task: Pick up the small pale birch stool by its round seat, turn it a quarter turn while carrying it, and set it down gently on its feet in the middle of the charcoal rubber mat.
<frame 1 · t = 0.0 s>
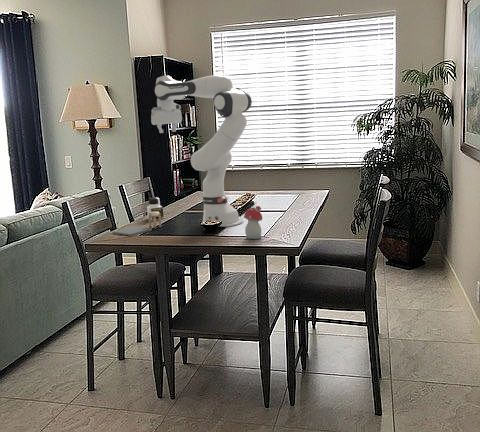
hand: (167, 132, 304), 48 cm above the table, tool pointing down, fingers open, 8 cm apart
medicine bottle: (155, 219, 314), on the table
mat: (132, 231, 282), on the table
mini stool: (155, 227, 290), on the table
decorative ornament: (254, 238, 253), on the table
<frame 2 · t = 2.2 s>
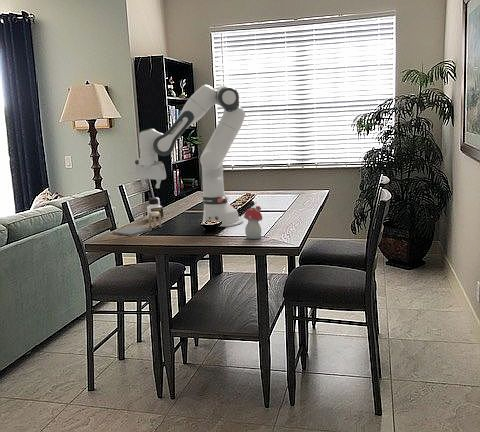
hand: (151, 187, 286), 21 cm above the table, tool pointing down, fingers open, 8 cm apart
nothing on the table moved.
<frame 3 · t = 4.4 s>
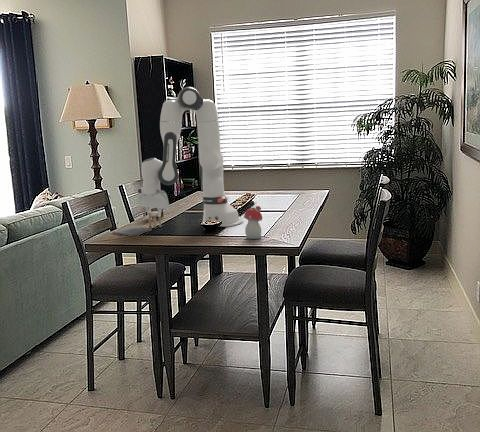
hand: (154, 215, 289), 6 cm above the table, tool pointing down, fingers closed on mini stool, 5 cm apart
mini stool: (155, 227, 290), on the table, touching gripper
everything else where it was.
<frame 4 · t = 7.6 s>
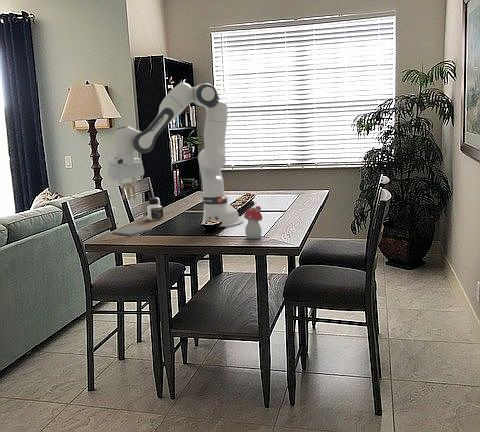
hand: (128, 186, 278), 23 cm above the table, tool pointing down, fingers closed on mini stool, 5 cm apart
mini stool: (129, 198, 279), point 17 cm above the table, touching gripper
everything else where it was.
when the fingers open (9 cm above the table, at t = 11.1 s): mini stool drops 1 cm, resting on mat.
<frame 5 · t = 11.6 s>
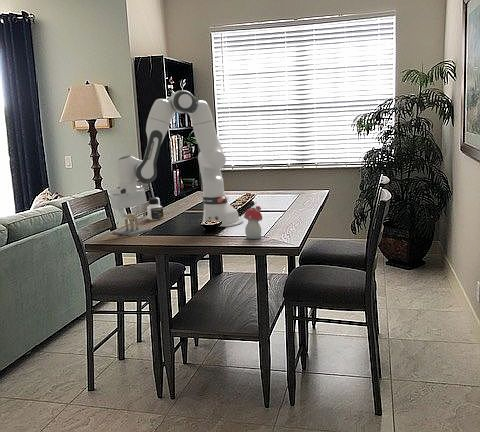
hand: (130, 215, 280), 9 cm above the table, tool pointing down, fingers open, 8 cm apart
mini stool: (132, 230, 282), point 1 cm above the table, touching mat
everything else where it was.
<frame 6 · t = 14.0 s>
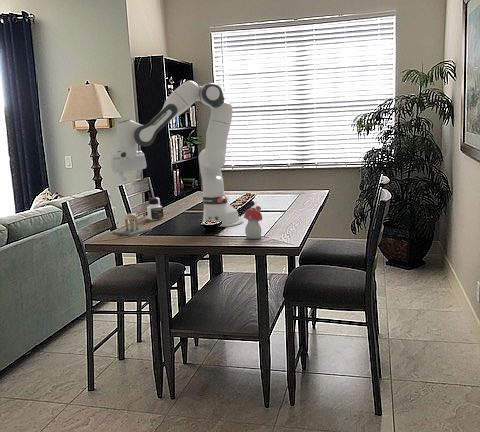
hand: (131, 179, 281), 26 cm above the table, tool pointing down, fingers open, 8 cm apart
nothing on the table moved.
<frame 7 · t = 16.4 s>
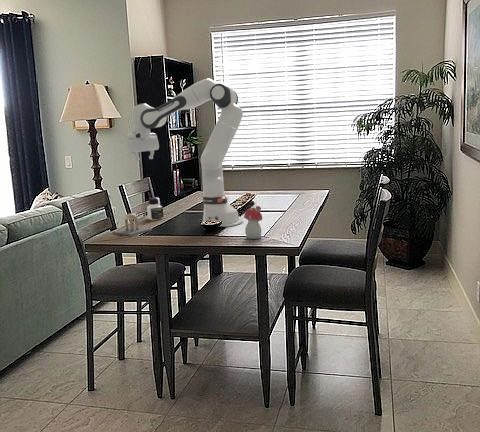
hand: (144, 159, 302), 34 cm above the table, tool pointing down, fingers open, 8 cm apart
nothing on the table moved.
at the end: mini stool inside the target area on the mat (0.1 cm from its centre), point 1.0 cm above the mat's base; mini stool tilted 0°; the gripper is holding nothing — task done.
